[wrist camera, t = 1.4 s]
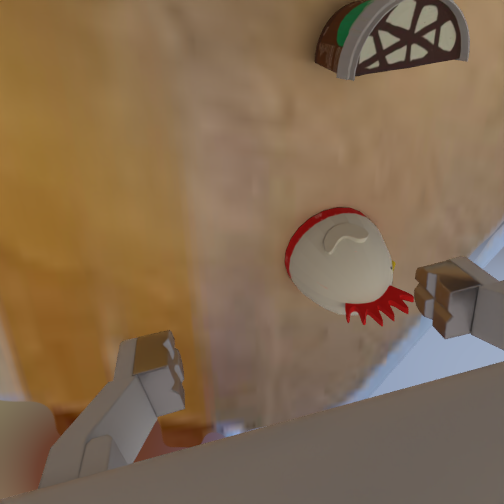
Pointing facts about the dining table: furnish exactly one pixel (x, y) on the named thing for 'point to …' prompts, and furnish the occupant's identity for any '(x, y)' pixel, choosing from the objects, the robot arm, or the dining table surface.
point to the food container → (392, 36)
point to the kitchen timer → (344, 265)
